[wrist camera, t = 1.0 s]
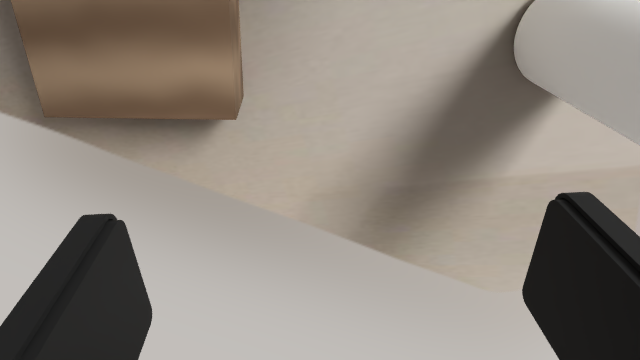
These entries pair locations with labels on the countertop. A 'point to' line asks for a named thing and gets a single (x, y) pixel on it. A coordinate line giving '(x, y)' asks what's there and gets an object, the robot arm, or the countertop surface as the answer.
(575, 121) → the countertop surface
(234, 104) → the walnut block
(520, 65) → the white bottle
